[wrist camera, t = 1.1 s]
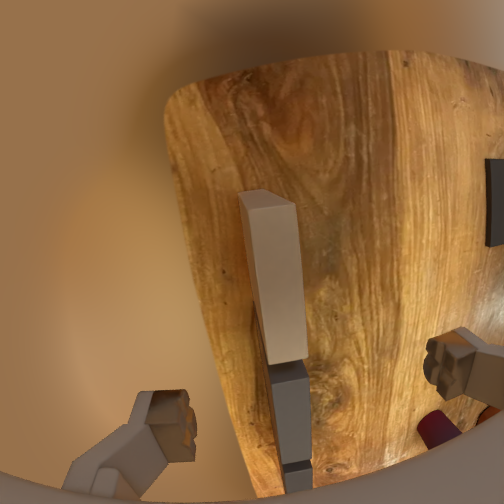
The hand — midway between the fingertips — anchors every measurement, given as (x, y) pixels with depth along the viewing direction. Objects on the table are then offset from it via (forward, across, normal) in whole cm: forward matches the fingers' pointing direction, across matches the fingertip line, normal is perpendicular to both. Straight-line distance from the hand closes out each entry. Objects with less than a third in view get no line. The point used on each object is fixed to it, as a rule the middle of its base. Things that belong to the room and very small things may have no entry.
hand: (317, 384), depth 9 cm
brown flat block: (+20, 0, 0) cm, 21 cm away
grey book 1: (+21, 0, +10) cm, 23 cm away
